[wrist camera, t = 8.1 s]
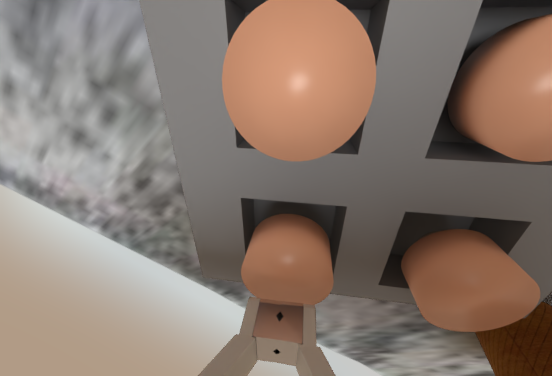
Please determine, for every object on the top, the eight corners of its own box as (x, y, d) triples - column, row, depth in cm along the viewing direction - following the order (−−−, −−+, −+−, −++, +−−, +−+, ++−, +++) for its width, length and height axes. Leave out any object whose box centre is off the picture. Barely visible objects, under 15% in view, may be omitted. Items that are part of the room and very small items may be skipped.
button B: (364, 17, 9) (396, -11, 5) (344, 135, 11) (358, 165, 8) (247, 19, 9) (212, -6, 6) (252, 131, 12) (229, 157, 8)
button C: (497, 218, 12) (567, 274, 9) (461, 276, 15) (505, 337, 11) (406, 210, 13) (440, 261, 9) (385, 267, 15) (406, 324, 12)
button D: (333, 204, 13) (340, 250, 10) (323, 260, 16) (327, 313, 12) (254, 198, 14) (237, 240, 10) (257, 253, 16) (243, 301, 13)
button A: (583, 21, 9) (741, -4, 6) (518, 136, 11) (603, 165, 8) (456, 22, 10) (534, 0, 6) (420, 132, 12) (462, 157, 9)
